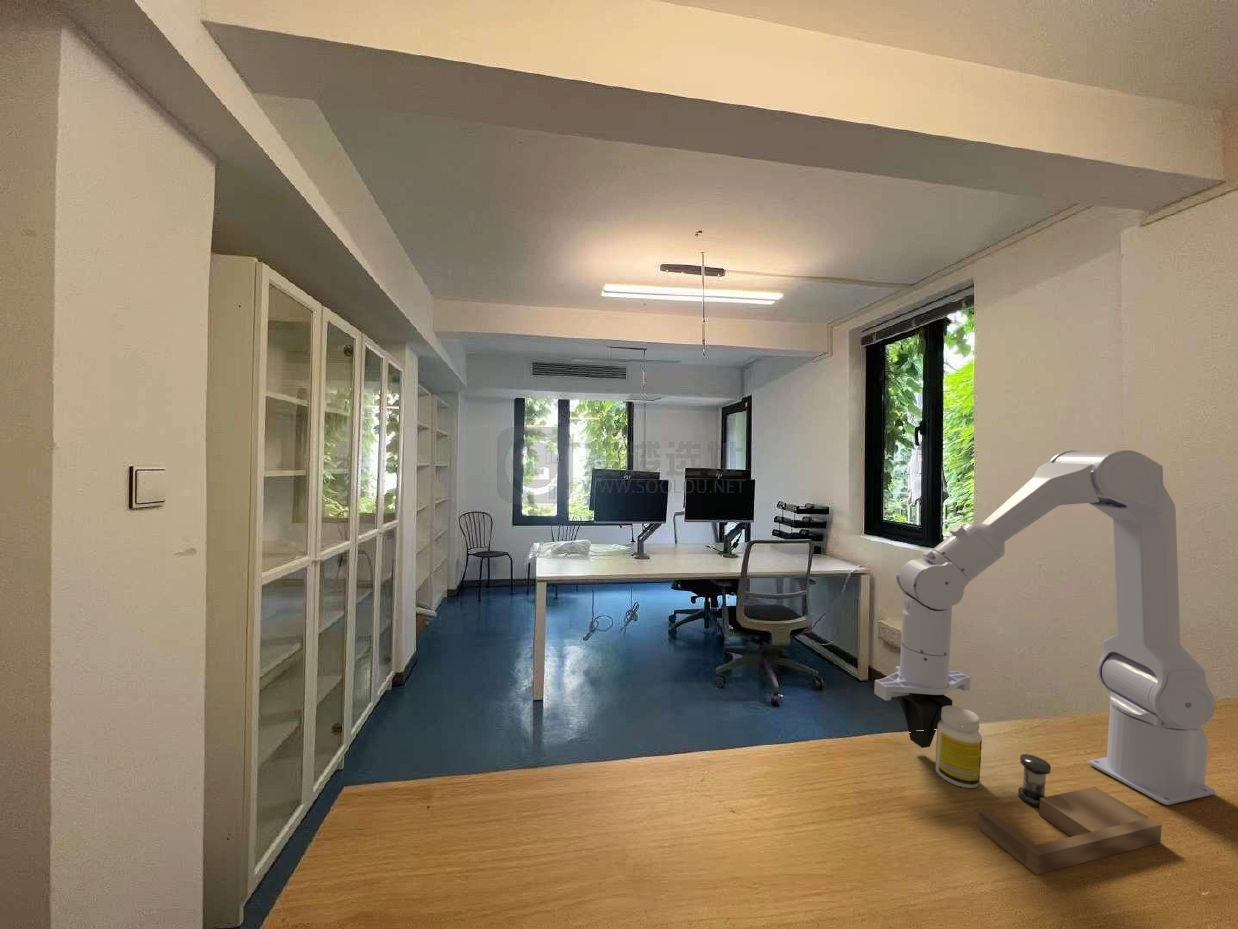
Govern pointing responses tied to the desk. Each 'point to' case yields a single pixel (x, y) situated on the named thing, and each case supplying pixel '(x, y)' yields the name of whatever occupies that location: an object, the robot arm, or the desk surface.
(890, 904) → the desk surface
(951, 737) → the supplement bottle
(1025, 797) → the spool post
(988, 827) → the notched board
